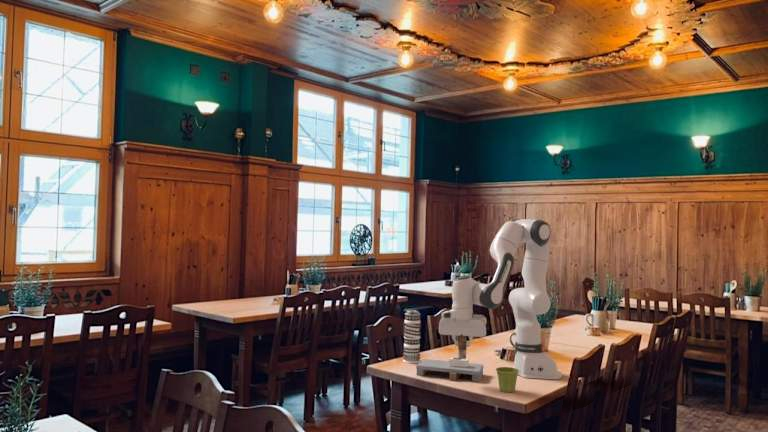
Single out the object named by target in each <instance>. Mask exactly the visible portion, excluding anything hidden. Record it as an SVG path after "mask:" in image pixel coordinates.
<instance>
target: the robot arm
mask: <svg viewBox="0 0 768 432" xmlns="http://www.w3.org/2000/svg"><path fill="white" fill-rule="evenodd" d="M550 238H551V226H550V224H549V223H548V222H547V221H545V220H542V219H533V218H522V219H521V218H516V219H515V218H514V219H512V220H509V221H506V222H505V223H504V224H502V226H501V227H500V228H499V230H498V231H497V233H496V235H495V237H494V238H493V240H492V242H491V244H490V246H489V254H490V256H491V258H492V259H493V260H494V261H495V262H496V263H497V268H496V271H495V273H494V275H493V278H492V281H491V282H489V283H483V282H479V281H477V280H475V279H473V278H472V277H471V276H470V275H459V276H456V277H455V278H453V281H452V287H451V299H452V304H451V309H448V310H444V311H443V312H441V315H440V316H441V319H440V320H439V323H438V333H439V335H441V336H443V335H444V336H451V339H452V340H453V343H454V347H458V339H457V336H460V335H461V334H462V335H463V336H467V337H468V339H469V340H468V341H467V342H466V346H467V348H468V347H471V341H472V340H473V337H476V338H484V337H485V336H487V327H486V326H487V322H488V321H487V317H486V316H485V315H484V314H473V310H474V309H473V305H476V306H481V307H484V308H487V309H490V310H494V309H498V308H499V307H500V306H501V304H502V303H503V300H504V296H505V290H506V287H507V285H508V284H507V283H508V282H509V279H510V276H511V275H512V274H511V273H512V270H513V267H514V266H515V265H514V263H515V255H516V251H518V250H517V249H518V248H519V246H520V243H525V244H526V249H525V253H524V256H523V257H524V258H523V261H522V268H521V269H522V270H521V276H522V278H523V282H524V283H523V284H524V286H523V287H516V288H513V289H512V290H511V291H510V293H509V295H508V302H509V304H510V306H511V308H512V312H513V316H514V321H515V342H514V362H513V366H512V368H516V369H518V370H519V372H518V375H517V376H520V377H522V378H525V379H542V380H561V379H562V378H563V372H561V371H560V370H558V365H557V362H556V360H555V359H553V357H551V356H550V355H549V354H547V353H546V352H545V351H546V345H545V344H543V343H541V332H542V331H541V330H542V328H541V324H540V322H539V321H538V318H537V316H538V315H544V314H546V313H548V312H549V311H550V309H551V303H552V302H551V299H550V297H549V295H548V292H547V283H546V281H547V271H548V267H549V266H548V265H549V259H550V241H549V239H550Z"/></svg>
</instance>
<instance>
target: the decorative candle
mask: <svg viewBox="0 0 768 432" xmlns="http://www.w3.org/2000/svg"><path fill="white" fill-rule="evenodd" d="M420 329H422V323H421V313H420V312H419V310H415V309H413V310H412V309H408V310H406V311H405V313H404V322H403V330H402V331H403V338H404V342H403V354H402V355H403V356H402V358H403V360H402V362H403V363H406V364H418V363H420V362H421V361H420V360H421V347H420V346H421V344H420V343H421V342H420V339H421V338H422V337H421V336H422V334H421V333H422V331H421V330H420Z"/></svg>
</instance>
